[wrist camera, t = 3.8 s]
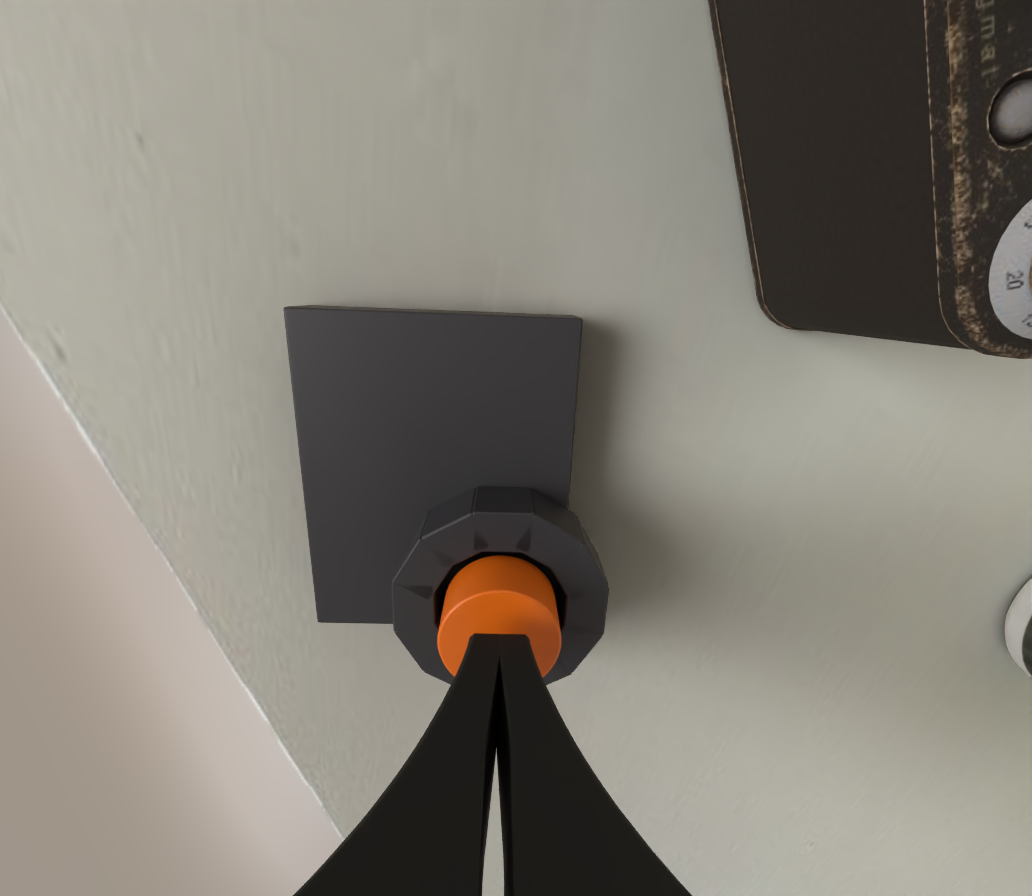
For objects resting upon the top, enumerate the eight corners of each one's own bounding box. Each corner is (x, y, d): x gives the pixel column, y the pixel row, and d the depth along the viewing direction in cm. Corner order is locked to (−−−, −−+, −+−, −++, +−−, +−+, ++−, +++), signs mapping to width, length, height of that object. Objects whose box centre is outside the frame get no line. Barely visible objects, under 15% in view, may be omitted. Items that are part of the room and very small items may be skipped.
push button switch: (580, 621, 18) (597, 696, 15) (337, 616, 18) (297, 692, 14) (609, 316, 14) (640, 323, 11) (307, 305, 14) (247, 309, 11)
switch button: (551, 648, 14) (557, 694, 13) (445, 646, 14) (437, 693, 13) (558, 555, 13) (565, 592, 12) (444, 552, 13) (435, 589, 12)
